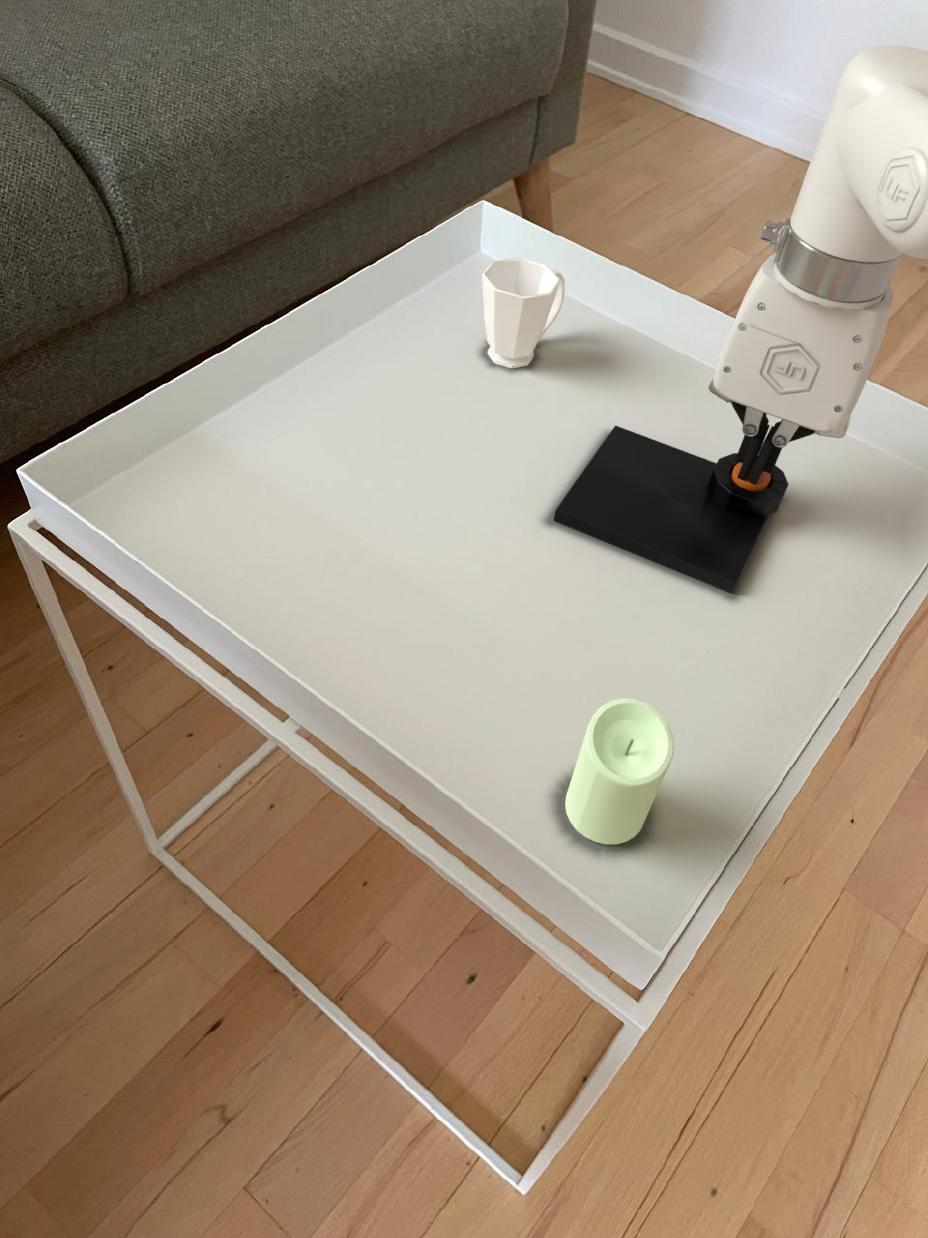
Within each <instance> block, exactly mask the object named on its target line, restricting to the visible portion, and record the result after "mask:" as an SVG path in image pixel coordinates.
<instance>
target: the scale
mask: <svg viewBox="0 0 928 1238" xmlns="http://www.w3.org/2000/svg"><path fill="white" fill-rule="evenodd" d="M737 454H738V452H734V453H729V454H728V455H725V456H723V457H720V458H718V459H717V462H715V461H711V460H709V459H706V458H704V457H701V456H698V455H695V454H693V453H690V452H688V451H686V450H682V449H679V448H677V447H675V446H672V445H669V444H667V443H664V442H661V441H658V440H656V439H653V438H650V437H647V436H645V435H642V434H639V433H636V432H635V431H632V430H630V429H626V428H624V427H622V426H618V425H617V424H616V425H614V426H613V428H612V429H611V431H610V432H609V434H608V435H607V437H606V438H605V439H604V441H603V442H602V444H600V446H599V447H598V449H597V451H596V452H595V453H594V454H593V456H592V458H591V459H590V461H589V462H588V463H587V464H586V466H585V467H584V468H583V470H582V472H581V473H580V475H579V476H578V477H577V479H576V480H575V482H574V483H573V485H572V486H571V487H570V489H569V490H568V491H567V493H566V494H565V496H564V497H563V499H562V500H561V501H560V503H559V504H558V506H557V507H556V508H555V511H554V516H553V521H554V522H555V523H558V524H561V525H563V526H566V527H568V528H571V529H573V530H576V531H577V532H580V533H583V534H586V535H587V536H590V537H593V538H596V539H598V540H600V541H603V542H604V543H607V544H609V545H612V546H614V547H618V548H619V549H622V550H624V551H626V552H629V553H632V554H634V555H637V556H639V557H642V558H643V559H647V560H648V561H652V562H653V563H656V564H658V565H661V566H664V567H666V568H669V569H671V570H672V571H673V570H674V571H676V572H679V573H681V574H683V575H686V576H688V577H691V578H693V579H695V580H697V581H700V582H703V583H705V584H708V585H710V586H713V587H715V588H717V589H720V590H722V591H724V592H727V593H730V594H733V593H734V592H735V590H736V587H737V585H738V583H739V581H740V579H741V576H742V574H743V572H744V569H746V566H747V564H748V562H749V559H750V557H751V556H752V552H753V551H754V548H755V546H756V544H757V542H758V540H759V537H760V535H761V534H762V531H763V530H764V527H765V525H766V523H767V520H768V518H769V516H770V515H772V514H774V513H776V512H777V511H778V510H779V507H780V505H781V503H782V501H783V499H784V496H785V494H786V491H787V489H788V486H789V482H788V479H787V477H786V475H785V472H784V471H783V470H782V469H781V468H780V467H779V466H777V465H776V464H775V466H774V468H773V470H772V473H771V474H770V476H771V479H770V482H769V484H768V486H767V489H766V490H764V491H750V490H748V489H745V488H742V487H740V486H738V485H737V484H736V483H735V482H733V481H732V480H731V478H730V477H731V475H732V472H733V469H734V467H735V466H736V465H737V464H738V463H740V462H738V461H735V459H736V456H737ZM755 462H756V461H755Z"/></svg>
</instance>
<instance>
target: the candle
mask: <svg viewBox="0 0 928 1238" xmlns="http://www.w3.org/2000/svg"><path fill="white" fill-rule="evenodd" d="M673 736H674V735H673V733H672V730H671V727H670V725H669V723H668V721H667V720H666V719H665V718H664V716H663V715H662V713H660V712H659V711H658V710H657V709H656V708H655V707H654V706H652V705H650V704H649V703H647V702H645V701H643V700H639V699H635V698H630V697H629V698H618V699H614V700H611V701H608V702H607V703H605V704H603V705H602V706H600V707H599V708H598V709H597V710H596V711H595V713H593V715H592V717H591V719H590V720H589V723H588V725H587V728H586V731H585V734H584V737H583V741H582V744H581V747H580V750H579V754H578V757H577V760H576V763H575V767H574V770H573V773H572V776H571V779H570V782H569V785H568V788H567V792H566V796H565V800H564V801H565V802H564V807H565V813H566V815H567V819H568V820H569V823H570V824H571V825H572V826H573V828H574V829H575V830H576V831H577V832H578V833H579V834H580V835H582V836H583V837H584V838H585V839H588V840H590V841H592V842H594V843H597V844H602V845H620V844H622V843H627V842H628V841H630V840H632V839H634V838H635V837H636V836H637V835H638V834H639V833H640V832H641V830H642V828H643V826H644V823H645V821H646V819H647V817H648V814H649V812H650V810H651V808H652V805H653V803H654V801H655V799H656V797H657V794H658V792H659V790H660V787H661V785H662V782H663V781H664V778H665V776H666V774H667V771H668V769H669V766H670V765H671V762H672V760H673V756H674V749H675V745H674V744H675V743H674V737H673Z"/></svg>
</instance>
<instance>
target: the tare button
mask: <svg viewBox="0 0 928 1238" xmlns="http://www.w3.org/2000/svg"><path fill="white" fill-rule="evenodd" d="M742 464H743V463H738V464H737V465H736V466H735V467H734V469H733V472H732V475H731V477H730V478H731V480H732V481H733V482H735V483H736V484H737V485H738V486H740V487H742V488H745V489H748V490H750V491H764V490H766V489H767V486H768V484H769V482H770V479H771V476H770V473H767V472H764V471H763V472H762V474H761V476H760V478H759V480H758V482H757V484H756V485H755V484H752V483H750V481H749V480H748V479H749V477H750V474H751V472H752V469H753V467H754V465H753V467H752V469H751V471H750V473H749V475H748V477H747V479H744V480H742V479H739V478H737V477H738V474H739V472H740V469H741V466H742ZM754 464H755V463H754Z"/></svg>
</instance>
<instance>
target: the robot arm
mask: <svg viewBox="0 0 928 1238" xmlns="http://www.w3.org/2000/svg"><path fill="white" fill-rule="evenodd" d="M759 241H761V242H765V243H768V244H769V246H770V247H774V249H773V254H771V255H770V256H769V257H768V258H767V259H766V260H765V261H763V263H762V265H761V266H760V268H759V269H758V270H757V272H756V275H755V276H754V278H753V280H752V281H751V283H750V285H749V287H748V288H747V291H746V293H745V295H744V297H743V300H742V301H741V303H740V307H739V308H738V311H737V313H736V316H735V319H734V320H733V323H732V326H731V327H730V331H729V333H728V336H727V338H726V340H725V343H724V346H723V348H722V351H721V354H720V357H719V359H718V361H717V366H716V368H715V372H714V375H713V378H712V380H711V381H710V383H709V384H708V390H709V392H710V393H712V394H713V395H715V396H716V397H718V398H720V399H721V400H723V401H724V402H726V403H729V404H731V406H732V408H733V410H734V412H735V413H736V415H737V417H738V418H739V420H740V422H741V424H742V427H741V428H742V434H743V439H742V441H741V443H740V446H739V448H738V451H737V453H738V454H737V456H736V459H735V461H738V462H740V463H743V464H742V466H741V469H740V472H739V474H738V477H737V478H739V479H742V480H744V479H747V477H748V475H749V473H750V471H751V469H752V467H753V465H754V467H753V469H752V472H751V474H750V477H749V479H748V480H749V481H750V483H752V484H755V485H756V484H757V482H758V480H759V478H760V476H761V474H762V472H763V471H764V472H767V473H770V474H771V473H772V470H773V468H774V466H775V465H776V464H777V461H778V460H779V457H780V454H781V452H782V449H783V448H785V447H787V445H788V444H789V443H791V442H794V441H798V440H801V439H803V438H806V437H809V436H812V435H817V436H820V437H827V438H833V439H834V438H835V439H842V438H844V437H845V436H846V434H847V432H848V429H849V427H850V421H851V416H852V413H853V412H854V410H855V408H856V406H857V403H858V401H859V399H860V397H861V395H862V392H863V390H864V388H865V385H866V383H867V381H868V378H869V375H870V373H871V371H872V368H873V366H874V363H875V361H876V358H877V356H878V353H879V351H880V348H881V345H882V343H883V339H884V336H885V333H886V330H887V326H888V323H889V320H890V314H891V311H892V310H891V309H892V305H893V299H894V293H893V290H892V288H891V287H890V283H891V281H892V278H893V276H894V274H895V272H896V269H897V267H898V265H899V263H900V261H901V258H902V256H903V255H906V256H908V257H912V258H916V259H923V260H924V259H925V260H928V51H927V50H924V49H919V48H914V47H909V46H902V45H884V46H874V47H871V48H870V47H869V48H867V49H865V50H863V51H861V52H859V53H857V54H856V55H855V56H854V57H853V58H851V60H850V61H849V62H848V63H847V65H846V66H845V68H844V70H843V71H842V73H841V75H840V77H839V80H838V83H837V85H836V88H835V91H834V94H833V96H832V98H831V101H830V104H829V108H828V111H827V113H826V116H825V119H824V122H823V125H822V128H821V130H820V134H819V137H818V139H817V142H816V144H815V148H814V151H813V154H812V155H811V158H810V162H809V165H808V168H807V171H806V173H805V176H804V179H803V181H802V185H801V187H800V190H799V193H798V196H797V199H796V202H795V204H794V207H793V210H792V214H791V216H790V218H786V219H785V221H779V222H775V221H772V220H770V219H767V221H766V223H765V225H764V227H763V230H762V232H761V235H760V240H759ZM768 415H769V416H772V417H775V418H776V419H777V418H778V419H780V421H777V422H775V424H774V425H770V424H769V422H770V420H769V418H768ZM770 426H771V427H770ZM755 461H756V462H755ZM754 463H755V464H754Z"/></svg>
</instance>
